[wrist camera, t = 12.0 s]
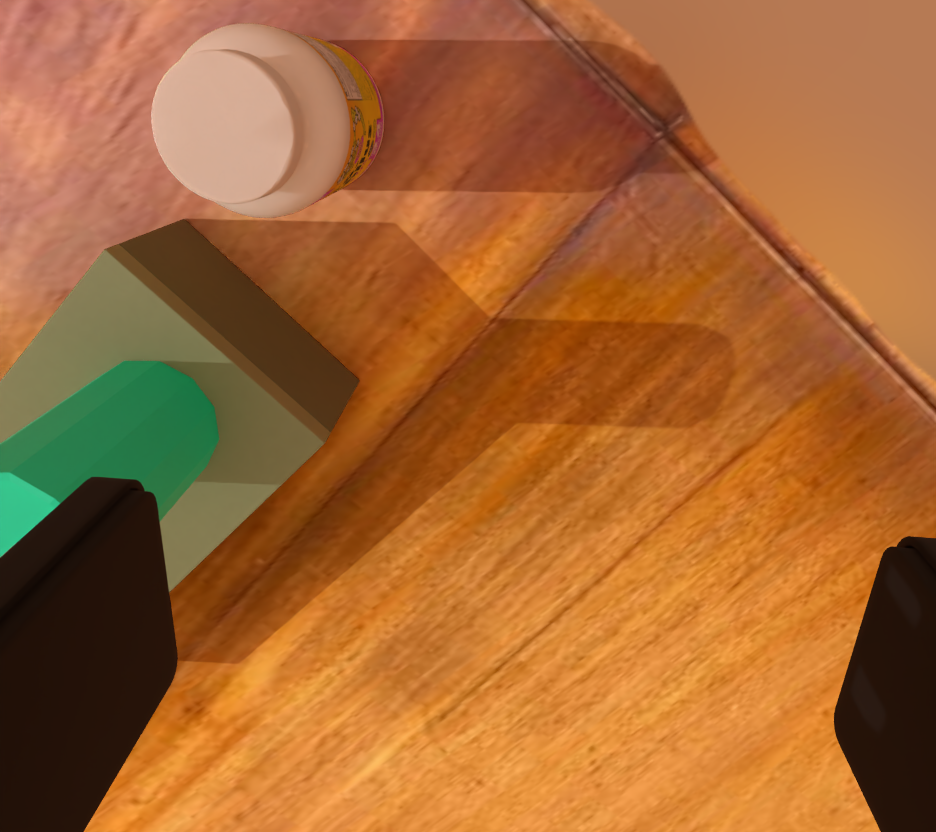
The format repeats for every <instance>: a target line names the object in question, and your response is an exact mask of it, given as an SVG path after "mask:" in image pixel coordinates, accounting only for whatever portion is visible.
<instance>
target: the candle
mask: <svg viewBox="0 0 936 832" xmlns="http://www.w3.org/2000/svg"><path fill="white" fill-rule="evenodd" d="M218 441H219V434H218V427H217V421H216V414H215V408H214V406H213V405H212V403H211V402H210V401H209V399H208V398H207V397H206V395H205V394H204V393H203V392H202V390H201V389H200V388H199V386H198V385H197V384H196V382H195V381H194V380H193V378H191V377H189V376H187V375H185V374H183V373H181V372H179V371H178V370H176V369H174V368H172V367H170V366H168V365H166V364H164V363H162V362H160V361H123V362H121V363H120V364H118V365H117V366H115V367H114V368H112V369H110V370H109V371H107V372H106V373H104V374H102V375H101V376H99V377H98V378H96V379H95V380H93V381H92V382H90V383H89V384H87V385H86V386H84V387H83V388H81V389H80V390H78V391H77V392H75V393H74V394H72V395H71V396H70V397H68V398H67V399H65V400H64V401H62V402H61V403H59V404H58V405H56V406H55V407H53V408H52V409H50V410H49V411H47V412H46V413H44V414H43V415H41V416H40V417H39V418H37V419H36V420H34V421H33V422H31V423H30V424H28V425H27V426H25V427H24V428H22V429H21V430H19V431H18V432H16V433H15V434H13V435H12V436H10V437H9V438H7V439H6V440H5V441H3V442H2V443H0V557H1V556H3V555H4V554H5V553H6V552H7V551H8V550H9V549H10V548H11V547H13V546H14V545H15V544H16V543H17V542H18V541H19V540H20V539H21V538H23V537H24V536H25V535H26V534H27V533H28V532H29V531H30V530H31V529H33V528H34V527H35V526H36V525H37V524H38V523H39V522H40V521H41V520H43V519H44V518H45V517H46V516H47V515H48V514H49V513H50V512H51V511H53V510H54V509H55V508H56V507H57V506H58V505H59V504H60V503H61V502H63V501H64V500H65V499H66V498H67V497H68V496H69V495H70V494H71V493H73V492H74V491H75V490H76V489H77V488H78V487H79V486H80V485H81V484H83V483H84V482H85V481H86V480H87V479H89V478H91V477H107V478H121V479H135V480H138V481H139V482H141V484H142V486H143V487H144V490H145V491H148V492H152V493H153V494H154V495H155V497H156V501H157V506H158V513H159V521H161V520H162V519H163V517H164V516H165V515H166V514H167V513H168V511H169V510H170V509H171V508H172V507H173V505H174V504H175V503H176V502H177V501H178V500H179V498H180V497H181V496H182V495H183V494H184V492H185V491H186V490H187V489H188V488H189V487H190V485H191V484H192V483H193V482H194V481H195V479H196V478H197V477H198V476H199V475H200V473H201V472H202V471H203V470H204V469H205V468H206V466H207V465H208V462H209V460H210V458H211V456H212V454H213V452H214V450H215V448H216V445H217V443H218Z"/></svg>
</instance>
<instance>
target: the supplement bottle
mask: <svg viewBox="0 0 936 832" xmlns="http://www.w3.org/2000/svg"><path fill="white" fill-rule="evenodd" d="M151 121H152V130H153V135H154V140H155V143H156V145H157V148H158V151H159V153H160V155H161V157H162V159H163V161H164V163H165V165H166V166H167V167H168V169H169V170H170V172H171V173H172V174H173V175H174V176H175V177H176V178H177V179H178V180H179V181H180V182H181V183H182V184H183V185H184V186H186V187H187V188H188V189H189V190H191V191H192V192H194V193H196V194H197V195H199V196H201V197H203V198H206V199H208V200H211V201H214V202H216V203H217V204H219V205H221V206H223V207H224V208H226V209H229V210H231V211H233V212H236V213H239V214H242V215H246V216H251V217H259V218H274V217H281V216H286V215H290V214H293V213H295V212H298V211H300V210H302V209H304V208H306V207H308V206H310V205H312V204H314V203H315V202H317V201H319V200H321V199H323V198H325V197H327V196H329V195H331V194H332V193H335V192H337V191H338V190H340V189H342V188H344V187H346V186H347V185H349V184H351V183H352V182H354V181H355V180H356V179H358V178H359V177H360V176H361V175H362V174H363V173H364V172H365V171H366V170H367V169H368V168H369V167H370V165H371V164H372V162H373V161H374V159H375V157H376V155H377V153H378V151H379V148H380V146H381V142H382V138H383V132H384V110H383V104H382V100H381V96H380V93H379V90H378V88H377V86H376V84H375V82H374V80H373V78H372V77H371V75H370V74H369V72H368V71H367V69H366V68H365V67H364V66H363V65H362V64H361V63H360V61H358V60H357V59H356V58H355V57H354V56H353V55H352V54H350V53H349V52H348V51H346V50H345V49H343V48H341V47H339V46H337V45H335V44H333V43H330V42H327V41H324V40H321V39H317V38H313V37H309V36H305V35H302V34H298V33H294V32H290V31H286V30H283V29H279V28H276V27H272V26H267V25H262V24H253V23H241V24H233V25H228V26H224V27H221V28H218V29H216V30H214V31H212V32H210V33H208V34H206V35H204V36H203V37H201V38H200V39H198V40H197V41H196V42H195V43H193V44H192V45H191V46H190V47H189V48H188V50H187V51H186V52H185V53H184V54H183V56H182V57H181V58H180V60H179V61H178V62H176V63H175V64H174V65H173V66H172V67H171V68H170V69H169V70H168V71H167V72H166V74H165V75H164V76H163V78H162V79H161V81H160V83H159V85H158V87H157V90H156V92H155V96H154V99H153V104H152V113H151Z"/></svg>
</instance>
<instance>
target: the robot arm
mask: <svg viewBox="0 0 936 832" xmlns="http://www.w3.org/2000/svg"><path fill="white" fill-rule="evenodd" d="M177 659H178V658H177V647H176V640H175V632H174V625H173V617H172V610H171V602H170V595H169V587H168V580H167V573H166V565H165V558H164V550H163V543H162V535H161V528H160V521H159V513H158V506H157V501H156V497H155V495H154V494H153V493H152V492H148V491H145V490H144V487H143V486H142V484H141V482H139V481H138V480H135V479H121V478H107V477H91V478H89V479H87V480H86V481H85V482H84V483H83V484H81V485H80V486H79V487H78V488H77V489H76V490H75V491H74V492H73V493H71V494H70V495H69V496H68V497H67V498H66V499H65V500H64V501H63V502H61V503H60V504H59V505H58V506H57V507H56V508H55V509H54V510H53V511H51V512H50V513H49V514H48V515H47V516H46V517H45V518H44V519H43V520H41V521H40V522H39V523H38V524H37V525H36V526H35V527H34V528H33V529H31V530H30V531H29V532H28V533H27V534H26V535H25V536H24V537H23V538H21V539H20V540H19V541H18V542H17V543H16V544H15V545H14V546H13V547H11V548H10V549H9V550H8V551H7V552H6V553H5V554H4V555H3V556H1V557H0V832H84V830H85V828H86V827H87V825H88V823H89V822H90V820H91V818H92V817H93V815H94V813H95V811H96V810H97V808H98V806H99V805H100V803H101V801H102V800H103V798H104V796H105V795H106V793H107V791H108V790H109V788H110V786H111V784H112V783H113V781H114V779H115V778H116V776H117V774H118V773H119V771H120V769H121V768H122V766H123V764H124V763H125V761H126V759H127V757H128V756H129V754H130V752H131V751H132V749H133V747H134V746H135V744H136V742H137V741H138V739H139V737H140V735H141V734H142V732H143V730H144V729H145V727H146V725H147V724H148V722H149V720H150V719H151V717H152V715H153V714H154V712H155V710H156V708H157V707H158V705H159V703H160V702H161V700H162V698H163V697H164V695H165V693H166V692H167V690H168V688H169V687H170V685H171V683H172V681H173V678H174V675H175V672H176V667H177ZM834 727H835V733H836V737H837V740H838V742H839V744H840V747H841V749H842V751H843V753H844V755H845V757H846V759H847V761H848V763H849V765H850V768H851V770H852V772H853V774H854V776H855V778H856V780H857V782H858V784H859V787H860V789H861V791H862V793H863V795H864V797H865V799H866V801H867V803H868V806H869V808H870V810H871V812H872V814H873V816H874V818H875V820H876V822H877V825H878V827H879V829H880V831H881V832H936V538H923V537H910V536H908V537H905V538H903V539H902V540H901V541H900V542H899V543H898V545H897V547H889V548H887V549H886V550H885V552H884V553H883V556H882V558H881V561H880V564H879V568H878V571H877V574H876V577H875V581H874V584H873V587H872V590H871V594H870V597H869V600H868V603H867V607H866V610H865V613H864V617H863V620H862V623H861V626H860V630H859V633H858V636H857V639H856V643H855V646H854V649H853V652H852V656H851V659H850V662H849V665H848V669H847V672H846V675H845V678H844V682H843V685H842V688H841V692H840V695H839V698H838V701H837V705H836V708H835V713H834Z"/></svg>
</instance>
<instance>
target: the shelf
mask: <svg viewBox="0 0 936 832" xmlns="http://www.w3.org/2000/svg"><path fill="white" fill-rule="evenodd" d="M123 361H160V362H162V363H164V364H166V365H168V366H170V367H172V368H174V369H176V370H178V371H179V372H181V373H183V374H185V375H187V376H189V377H191V378H193V380H194V381H195V382H196V384H197V385H198V386H199V388H200V389H201V390H202V392H203V393H204V394H205V395H206V397H207V398H208V399H209V401H210V402H211V403H212V405H213V406H214V408H215V414H216V421H217V427H218V434H219V441H218V443H217V445H216V448H215V450H214V452H213V454H212V456H211V458H210V460H209V462H208V465H207V466H206V468H205V469H204V470H203V471H202V472H201V473H200V475H199V476H198V477H197V478H196V479H195V481H194V482H193V483H192V484H191V485H190V487H189V488H188V489H187V490H186V491H185V492H184V494H183V495H182V496H181V497H180V498H179V500H178V501H177V502H176V503H175V504H174V505H173V507H172V508H171V509H170V510H169V511H168V513H167V514H166V515H165V516H164V517H163V519H162V520H161V521H160V528H161V535H162V543H163V550H164V558H165V565H166V573H167V580H168V587H169V593H170V592H171V591H172V590H173V589H174V588H175V587H176V586H177V585H178V584H179V583H180V582H181V581H182V580H183V579H184V578H185V577H186V576H187V575H188V574H189V573H190V572H191V571H192V570H193V569H195V568H196V567H197V566H198V565H199V564H200V563H201V562H202V561H203V560H204V559H205V558H206V557H207V556H208V555H209V554H210V553H211V552H212V551H213V550H214V549H215V548H216V547H217V546H219V545H220V544H221V543H222V542H223V541H224V540H225V539H226V538H227V537H228V536H229V535H230V534H231V533H232V532H233V531H234V530H235V529H236V528H237V527H238V526H239V525H240V524H241V523H242V522H244V521H245V520H246V519H247V518H248V517H249V516H250V515H251V514H252V513H253V512H254V511H255V510H256V509H257V508H258V507H259V506H260V505H261V504H262V503H263V502H264V501H265V500H266V499H267V498H269V497H270V496H271V495H272V494H273V493H274V492H275V491H276V490H277V489H278V488H279V487H280V486H281V485H282V484H283V483H284V482H285V481H286V480H287V479H288V478H289V477H290V476H291V475H292V474H294V473H295V472H296V471H297V470H298V469H299V468H300V467H301V466H302V465H303V464H304V463H305V462H306V461H307V460H308V459H309V458H310V457H311V456H312V455H313V454H314V453H315V452H316V451H318V450H319V449H320V448H321V447H322V446H323V445H324V444H325V442H326V440H327V438H328V437H329V435H330V433H331V431H332V429H333V428H334V426H335V424H336V422H337V421H338V419H339V417H340V415H341V413H342V412H343V410H344V408H345V406H346V404H347V403H348V401H349V399H350V397H351V396H352V394H353V392H354V390H355V388H356V387H357V385H358V383H359V379H357V378H356V377H355V376H354V375H353V374H352V373H351V372H350V371H349V370H348V369H347V368H345V367H344V366H343V365H342V364H341V363H340V362H339V361H338V360H337V359H336V358H335V357H334V356H332V355H331V354H330V353H329V352H328V351H327V350H326V349H325V348H324V347H323V346H322V345H321V344H319V343H318V342H317V341H316V340H315V339H314V338H313V337H312V336H311V335H310V334H309V333H307V332H306V331H305V330H304V329H303V328H302V327H301V326H300V325H299V324H298V323H297V322H296V321H294V320H293V319H292V318H291V317H290V316H289V315H288V314H287V313H286V312H285V311H284V310H283V309H281V308H280V307H279V306H278V305H277V304H276V303H275V302H274V301H273V300H272V299H271V298H269V297H268V296H267V295H266V294H265V293H264V292H263V291H262V290H261V289H260V288H259V287H258V286H256V285H255V284H254V283H253V282H252V281H251V280H250V279H249V278H248V277H247V276H246V275H245V274H243V273H242V272H241V271H240V270H239V269H238V268H237V267H236V266H235V265H234V264H233V263H231V262H230V261H229V260H228V259H227V258H226V257H225V256H224V255H223V254H222V253H221V252H220V251H218V250H217V249H216V248H215V247H214V246H213V245H212V244H211V243H210V242H209V241H208V240H207V239H205V238H204V237H203V236H202V235H201V234H200V233H199V232H198V231H197V230H196V229H195V228H193V227H192V226H191V225H190V224H189V223H188V222H187V221H186V220H185V219H182V220H180V221H177V222H175V223H172V224H169V225H167V226H164V227H162V228H159V229H157V230H154V231H151V232H149V233H146V234H144V235H141V236H138V237H136V238H133V239H131V240H128V241H125V242H123V243H120V244H117V245H115V246H112V247H110V248H107V249H105V250H104V251H103V252H102V253H101V255H100V256H99V257H98V258H97V260H96V261H95V262H94V263H93V265H92V266H91V267H90V268H89V270H88V271H87V272H86V274H85V275H84V276H83V277H82V279H81V280H80V281H79V282H78V284H77V285H76V286H75V287H74V289H73V290H72V291H71V292H70V294H69V295H68V296H67V298H66V299H65V300H64V301H63V303H62V304H61V305H60V306H59V308H58V309H57V310H56V311H55V313H54V314H53V315H52V317H51V318H50V319H49V320H48V322H47V323H46V324H45V325H44V327H43V328H42V329H41V330H40V332H39V333H38V334H37V336H36V337H35V338H34V339H33V341H32V342H31V343H30V344H29V346H28V347H27V348H26V349H25V351H24V352H23V353H22V354H21V356H20V357H19V358H18V360H17V361H16V362H15V363H14V365H13V366H12V367H11V368H10V370H9V371H8V372H7V373H6V375H5V376H4V377H3V379H2V380H1V381H0V443H2V442H3V441H5V440H6V439H7V438H9V437H10V436H12V435H13V434H15V433H16V432H18V431H19V430H21V429H22V428H24V427H25V426H27V425H28V424H30V423H31V422H33V421H34V420H36V419H37V418H39V417H40V416H41V415H43V414H44V413H46V412H47V411H49V410H50V409H52V408H53V407H55V406H56V405H58V404H59V403H61V402H62V401H64V400H65V399H67V398H68V397H70V396H71V395H72V394H74V393H75V392H77V391H78V390H80V389H81V388H83V387H84V386H86V385H87V384H89V383H90V382H92V381H93V380H95V379H96V378H98V377H99V376H101V375H102V374H104V373H106V372H107V371H109V370H110V369H112V368H114V367H115V366H117V365H118V364H120V363H121V362H123Z"/></svg>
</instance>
